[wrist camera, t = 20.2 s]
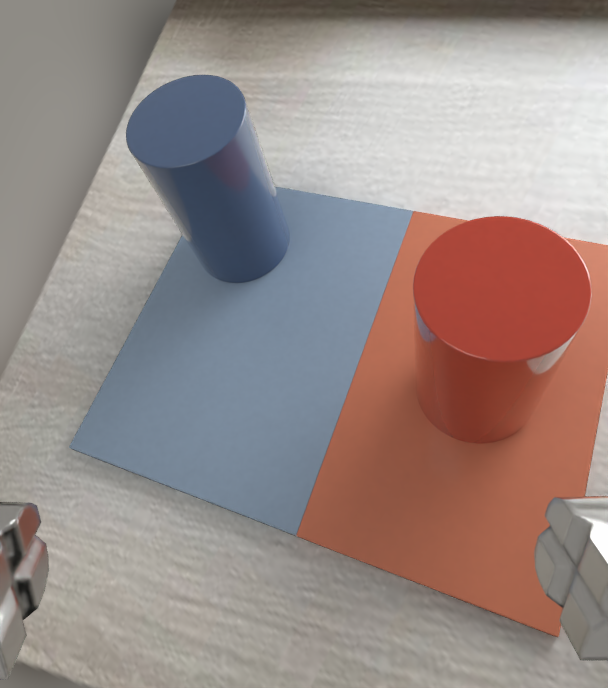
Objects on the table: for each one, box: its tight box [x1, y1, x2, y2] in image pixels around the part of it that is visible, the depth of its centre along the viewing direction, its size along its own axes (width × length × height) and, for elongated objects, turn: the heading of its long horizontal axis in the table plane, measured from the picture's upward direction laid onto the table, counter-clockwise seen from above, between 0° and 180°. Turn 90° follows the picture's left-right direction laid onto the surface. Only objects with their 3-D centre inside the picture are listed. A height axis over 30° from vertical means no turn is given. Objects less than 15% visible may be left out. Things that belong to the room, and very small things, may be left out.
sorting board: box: [69, 187, 608, 637], centre depth 31 cm, size 26×20×1 cm
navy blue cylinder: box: [126, 75, 290, 283], centre depth 31 cm, size 6×6×10 cm
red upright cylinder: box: [413, 216, 592, 443], centre depth 24 cm, size 6×6×10 cm
